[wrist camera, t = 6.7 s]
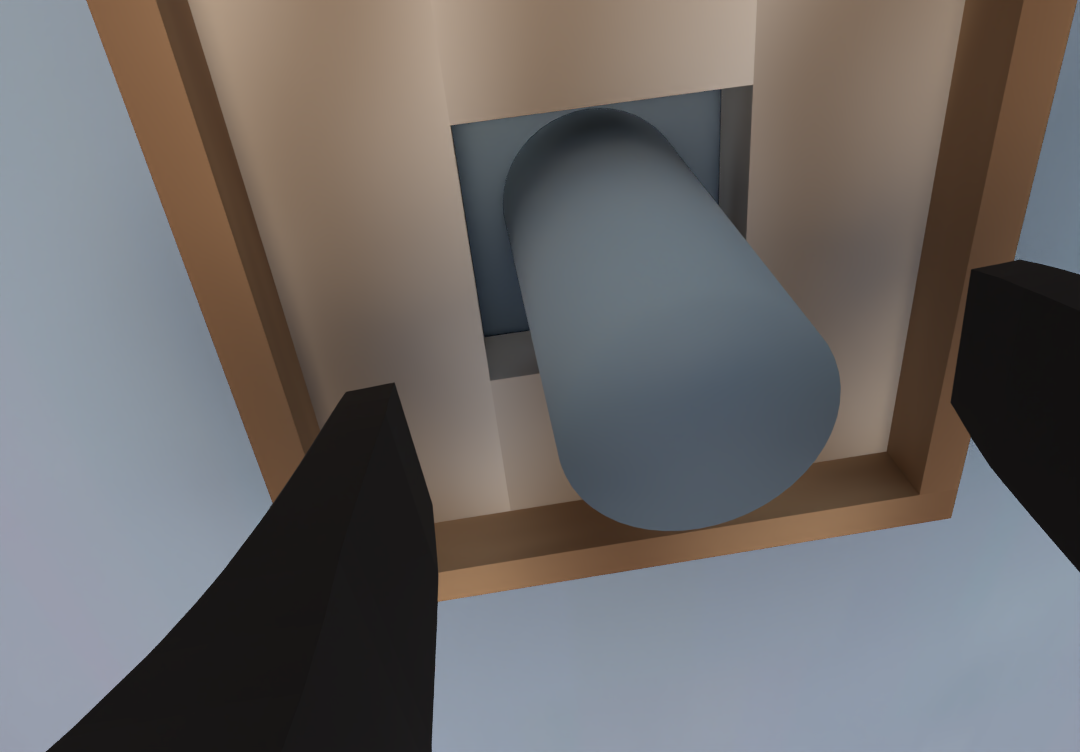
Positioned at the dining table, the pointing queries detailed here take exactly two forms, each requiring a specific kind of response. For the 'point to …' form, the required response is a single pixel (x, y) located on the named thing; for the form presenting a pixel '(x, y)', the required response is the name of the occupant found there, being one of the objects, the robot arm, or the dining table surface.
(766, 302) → the peg
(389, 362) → the tray box
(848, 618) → the dining table surface
